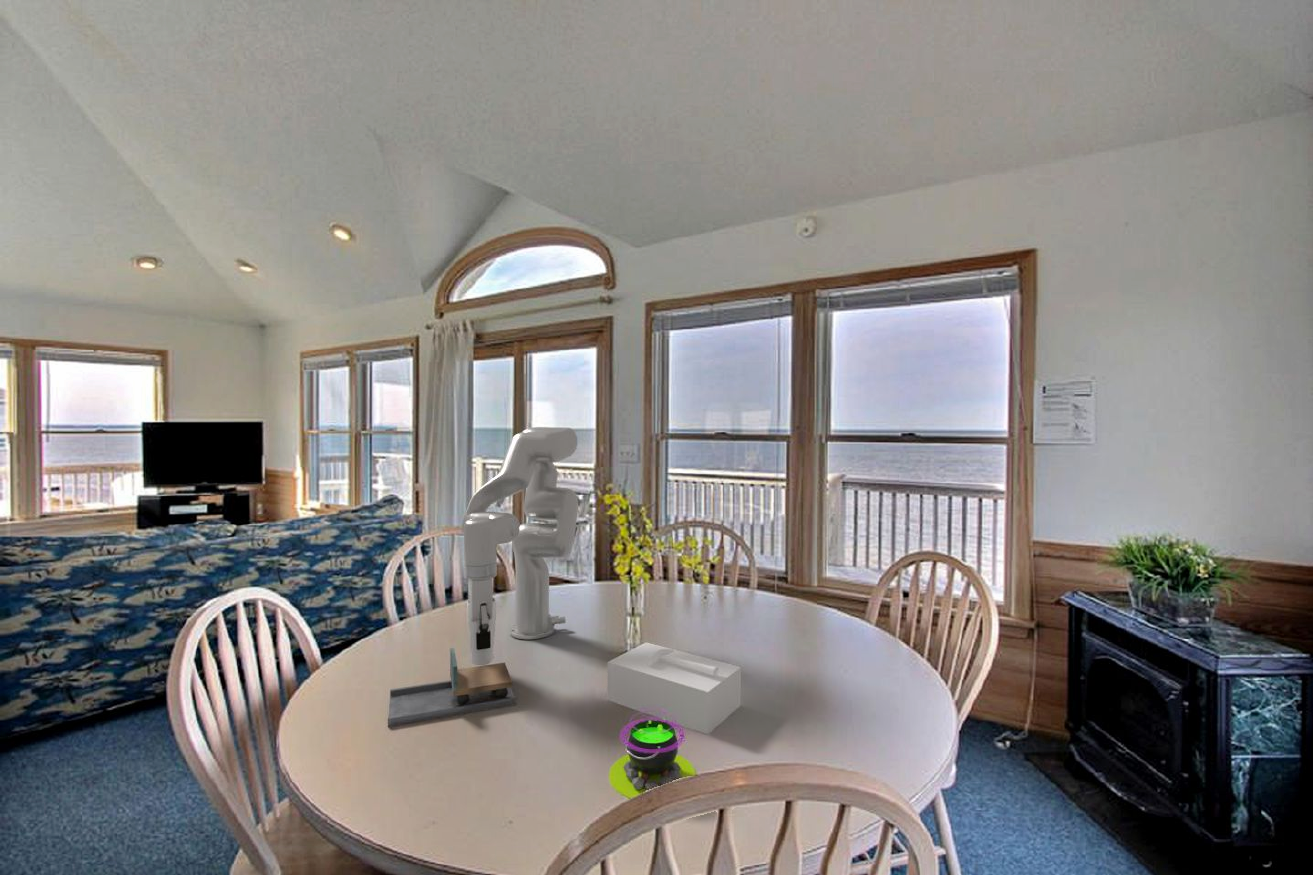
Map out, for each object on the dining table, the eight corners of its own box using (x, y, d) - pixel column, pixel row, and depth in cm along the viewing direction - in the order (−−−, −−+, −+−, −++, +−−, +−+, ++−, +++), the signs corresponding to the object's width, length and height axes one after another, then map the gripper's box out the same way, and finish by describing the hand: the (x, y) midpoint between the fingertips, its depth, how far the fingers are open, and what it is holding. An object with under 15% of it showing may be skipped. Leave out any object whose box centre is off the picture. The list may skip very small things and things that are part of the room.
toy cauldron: (602, 757, 106) (603, 696, 106) (682, 746, 110) (682, 688, 109) (616, 809, 92) (617, 739, 91) (708, 795, 95) (708, 728, 95)
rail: (506, 678, 138) (506, 671, 138) (516, 704, 125) (516, 697, 125) (390, 696, 129) (390, 689, 129) (387, 726, 116) (387, 718, 116)
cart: (504, 677, 137) (504, 641, 137) (512, 697, 127) (512, 658, 126) (450, 686, 132) (450, 648, 132) (453, 707, 122) (453, 666, 122)
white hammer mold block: (645, 678, 140) (646, 632, 140) (740, 706, 126) (741, 656, 126) (607, 701, 128) (607, 651, 128) (707, 735, 114) (708, 680, 114)
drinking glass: (500, 656, 145) (499, 596, 144) (490, 668, 138) (489, 605, 137) (474, 654, 146) (473, 595, 145) (462, 666, 139) (461, 604, 138)
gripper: (461, 562, 147) (462, 632, 148) (467, 581, 131) (468, 659, 132) (492, 559, 150) (493, 628, 151) (501, 577, 134) (502, 654, 135)
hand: (481, 642), depth 142 cm, fingers closed on drinking glass, 6 cm apart
